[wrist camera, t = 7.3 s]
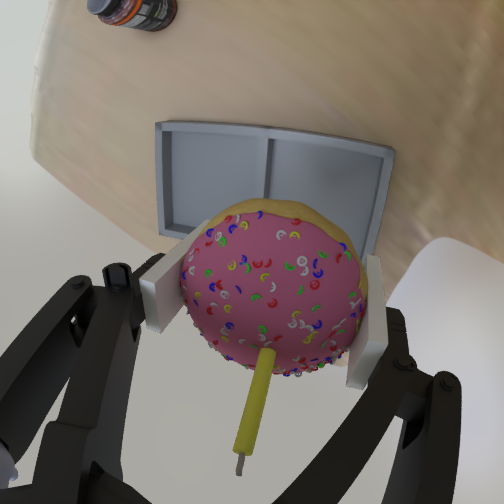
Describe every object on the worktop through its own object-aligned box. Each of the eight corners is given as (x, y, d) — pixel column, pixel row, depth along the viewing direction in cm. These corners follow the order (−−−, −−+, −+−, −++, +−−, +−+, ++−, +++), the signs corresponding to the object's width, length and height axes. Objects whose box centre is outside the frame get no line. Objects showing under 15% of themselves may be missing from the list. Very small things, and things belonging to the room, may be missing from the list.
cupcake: (386, 288, 16) (387, 495, 6) (263, 325, 20) (188, 485, 10) (323, 149, 14) (245, 277, 4) (194, 216, 18) (41, 347, 8)
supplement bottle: (142, -1, 28) (83, -16, 18) (179, -10, 26) (123, -35, 17) (139, 36, 31) (77, 28, 21) (177, 28, 29) (117, 13, 20)
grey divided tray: (391, 146, 29) (395, 150, 26) (364, 266, 36) (365, 279, 34) (168, 120, 35) (155, 122, 33) (170, 226, 43) (159, 234, 40)
